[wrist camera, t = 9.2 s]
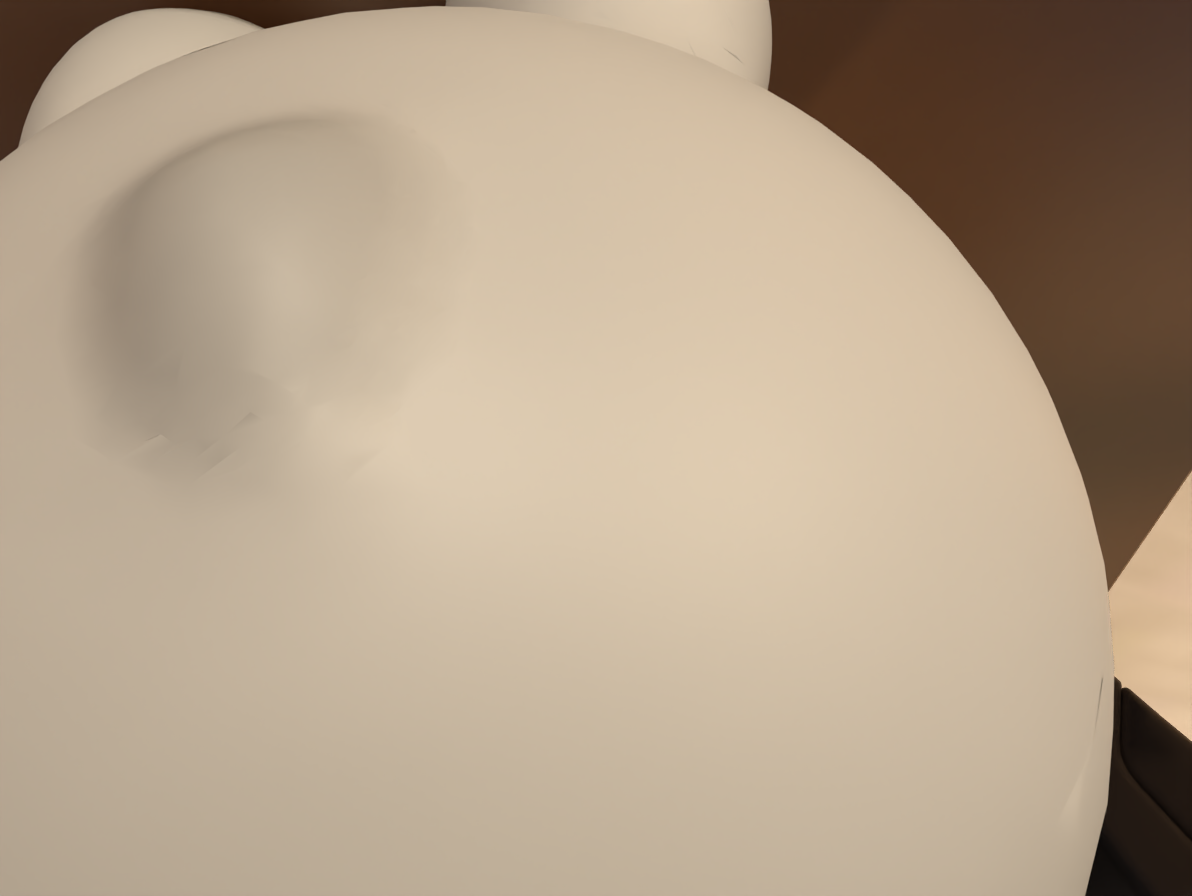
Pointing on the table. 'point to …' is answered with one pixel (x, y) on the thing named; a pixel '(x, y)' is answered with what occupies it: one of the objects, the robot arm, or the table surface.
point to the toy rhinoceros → (518, 481)
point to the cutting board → (956, 182)
